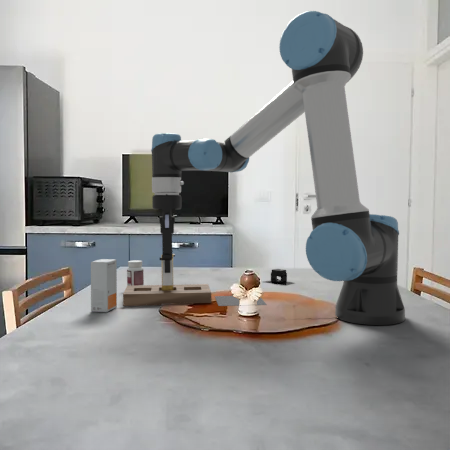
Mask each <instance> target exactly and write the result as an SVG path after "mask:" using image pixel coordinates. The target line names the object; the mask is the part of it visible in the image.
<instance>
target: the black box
mask: <svg viewBox="0 0 450 450" xmlns="http://www.w3.org/2000/svg"><path fill="white" fill-rule="evenodd" d="M279 278H280V279H279ZM262 283H265V284H266V283H267V284H272V285H280V286H289V285H295V282H291V281H288V272H287V270H286V269H281V268H275V269H271V271H270V279H269V280H264V281H262Z"/></svg>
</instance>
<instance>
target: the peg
mask: <svg viewBox="0 0 450 450" xmlns="http://www.w3.org/2000/svg"><path fill="white" fill-rule="evenodd" d="M173 254H174V253H173ZM173 254H172V255H173ZM160 256H161V257H162V254H161V255H160ZM172 260H173V261H174V258H173V259H172ZM173 285H174V284H173ZM173 285H163V286H162V291H167V290H173Z"/></svg>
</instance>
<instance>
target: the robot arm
mask: <svg viewBox="0 0 450 450" xmlns="http://www.w3.org/2000/svg"><path fill="white" fill-rule="evenodd" d="M278 48H279V54H280V58H281V60H282V61H283V63H284V64H285V65H286V66H287V67H288V68H289V69H291V73H292V74H291V75H292V81H291V82H290V83H289V84H288V85H287V86H285V87H284V88H283V89H281V91H280V92H278V93H277V94H276V95H275V96H274V97H273V98H271V100H270V101H268V102H267V103H266V104H265V105H264V106H262V107H261V109H259V110H258V111H257V112H256V113H255V114H254V115H252V116H251V117H250V118H249V119H248V120H247V121H246V122H245V123H244V124H242V125H241V126H240V127H239V128H238V129H236V131H234V132H233V133H232V134H231V135H230V136H228V137H227V138H226V139H225V140H224V141H217V140H216V139H213V138H203V137H202V138H198V139H197V138H196V139H190V140H189V139H187V140H182V136H181V135H180V134H178V133H173V132H172V133H171V132H165V133H163V132H161V133H155V134H154V135H153V136H152V140H151V149H150V151H151V165H152V166H151V170H152V171H151V175H152V176H151V192H152V194H153V193H154V194H153V195H152V197H151V198H152V200H151V202H152V204H151V205H152V209H153V210H162V216H159V224H160V234H161V238H162V239H161V242H162V244H161V245H162V246H161V247H162V248H161V249H162V254H161V255H162V256H161V257H159V261H161V285H162V286H163V285H174V257H176V253H173V234H174V233H175V224H176V223H175V221H176V217H175V216H173V215H172V210H176V211H177V210H181V209H182V201H183V200H182V196H181V192H182V186H183V185H184V184H185V182H184V181H183V180H182V171H183V172H184V171H204V172H211V171H212V172H226V173H238V172H241V171H243V170H245V169H246V167H247V166H248V163H249V162H250V157H252V156H253V155H254V154H255V153H257V152H258V151H259V150H260V149H261V148H263V147H264V146H265V145H266V144H268V143H269V142H270V141H271V140H272V139H274V138H275V137H277V135H278V134H279V133H281V132H282V131H284V130H285V129H286V128H287V127H288V126H290V124H292V123H293V122H294V121H296V120H297V119H298V118H299V117H300V116H302V115H303V114H304V116H305V122H306V131H307V138H308V146H309V155H310V162H311V168H312V178H313V185H314V193H315V201H316V210H315V212H314V213H313V214H312V215H311V217H310V219H311V226H312V230H311V232H310V234H309V236H308V237H307V239H306V242H305V256H306V259H307V261H308V263H309V265H310V267H311V268H312V269H313V270H314V272H315V273H317V274H318V276H321V278H324V279H326V280H329V281H332V282H343V284H342V287H341V288H340V289H341V290H340V292H339V295H338V298H337V301H336V304H335V309H334V310H335V312H334V313H335V316H336V318H337V317H338V318H337V319H339V320H341V321H343V322H348V323H353V324H359V325H365V326H366V325H367V326H368V325H369V326H389V325H397V324H401V323H403V322H405V320H406V309H405V306H404V302H403V298H402V296H401V292H400V289H399V286H398V266H399V265H398V264H399V263H398V261H399V259H398V258H399V236H400V230H399V222H398V220H397V219H396V218H395V217H393V216H391V215H390V216H389V215H384V214H373V213H372V214H371V213H370V210H369V208H368V207H366V206H365V205H364V204H362V203H361V200H360V194H359V186H358V178H357V177H358V176H357V172H356V163H355V155H354V148H353V142H352V141H353V140H352V133H351V125H350V116H349V110H348V104H347V96H346V95H347V94H346V88H345V86H346V84H347V83H348V82H350V80H351V79H352V78H353V77H354V76H355V75H356V74H357V72H358V71H359V69H360V66H361V64H362V61H363V56H364V46H363V43H362V41H361V39H360V36H359V35H358V33H356V32H355V31H354V29H352V28H350V27H348V26H346V25H344V24H343V23H341V22H340V21H338V20H336V19H335V18H333V17H332V16H330V15H329V14H327V13H323V12H320V11H316V10H308V11H304V12H301V13H299V14H297V15H296V16H295V17H293V18H292V19H291V20H290V21H289V22H288V23H287V26H286V28H285V29H284V30H283V31H282V34H281V36H280V40H279V47H278ZM172 254H173V255H172ZM172 259H173V260H172Z"/></svg>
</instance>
